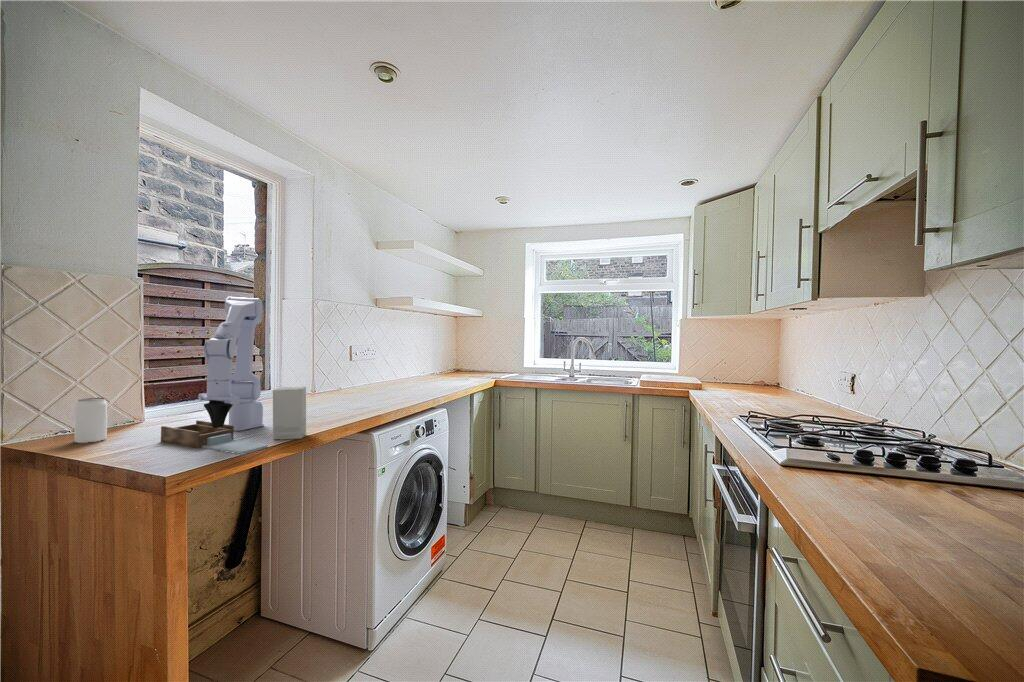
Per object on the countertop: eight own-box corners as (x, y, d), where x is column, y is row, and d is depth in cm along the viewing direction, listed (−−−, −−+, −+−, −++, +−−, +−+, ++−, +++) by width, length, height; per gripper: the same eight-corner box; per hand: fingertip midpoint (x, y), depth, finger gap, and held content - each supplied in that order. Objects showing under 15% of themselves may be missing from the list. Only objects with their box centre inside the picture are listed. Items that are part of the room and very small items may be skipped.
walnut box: (160, 441, 119) (161, 426, 119) (197, 434, 128) (197, 420, 128) (197, 448, 113) (198, 432, 113) (233, 440, 123) (233, 425, 123)
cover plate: (201, 449, 114) (202, 438, 114) (231, 442, 122) (231, 432, 122) (239, 456, 109) (239, 445, 109) (267, 448, 117) (267, 438, 117)
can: (68, 442, 115) (69, 399, 115) (97, 437, 121) (98, 396, 121) (84, 444, 113) (85, 401, 113) (112, 439, 120) (113, 398, 120)
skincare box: (306, 434, 133) (307, 386, 132) (301, 439, 126) (302, 389, 126) (277, 435, 131) (279, 386, 130) (270, 440, 124) (272, 389, 124)
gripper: (187, 379, 117) (186, 427, 117) (222, 383, 112) (221, 432, 112) (213, 377, 123) (211, 422, 123) (247, 380, 118) (246, 427, 118)
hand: (218, 427), depth 118 cm, fingers closed
